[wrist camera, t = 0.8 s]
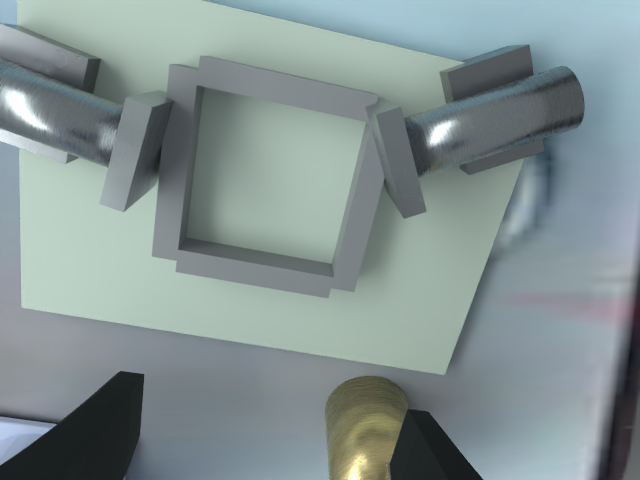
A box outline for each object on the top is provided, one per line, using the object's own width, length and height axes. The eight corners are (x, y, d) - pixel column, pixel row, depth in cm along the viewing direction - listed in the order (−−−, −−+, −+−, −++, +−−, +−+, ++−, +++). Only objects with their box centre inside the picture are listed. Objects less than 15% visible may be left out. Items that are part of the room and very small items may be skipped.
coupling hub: (394, 448, 26) (423, 571, 20) (317, 437, 25) (321, 559, 19) (418, 381, 24) (457, 491, 18) (335, 368, 24) (347, 476, 17)
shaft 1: (189, 91, 19) (153, 100, 14) (162, 182, 20) (122, 217, 15) (16, 21, 17) (-83, 7, 13) (-1, 122, 19) (-96, 141, 14)
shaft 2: (382, 188, 20) (405, 224, 16) (356, 97, 19) (373, 108, 14) (534, 139, 20) (602, 162, 15) (520, 41, 18) (590, 36, 14)
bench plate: (440, 365, 24) (453, 394, 22) (31, 298, 22) (2, 323, 20) (542, 82, 19) (571, 85, 17) (29, -40, 17) (-10, -53, 15)
